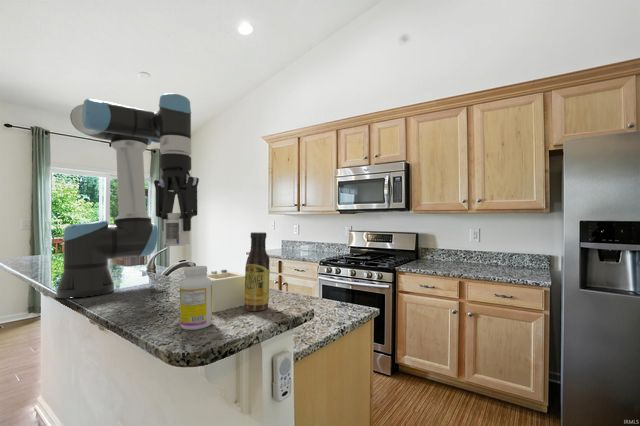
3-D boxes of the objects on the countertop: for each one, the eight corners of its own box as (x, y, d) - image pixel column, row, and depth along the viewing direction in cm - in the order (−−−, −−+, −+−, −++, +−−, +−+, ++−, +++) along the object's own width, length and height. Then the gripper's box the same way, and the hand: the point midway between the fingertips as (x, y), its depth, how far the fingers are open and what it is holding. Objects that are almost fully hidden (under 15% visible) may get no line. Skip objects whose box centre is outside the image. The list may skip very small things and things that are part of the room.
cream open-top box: (194, 303, 89) (194, 272, 90) (227, 297, 96) (227, 268, 96) (212, 312, 81) (212, 278, 81) (248, 305, 87) (248, 273, 87)
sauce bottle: (239, 311, 81) (239, 232, 82) (252, 305, 87) (251, 231, 88) (263, 313, 79) (262, 232, 80) (274, 306, 85) (273, 231, 86)
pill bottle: (181, 245, 81) (181, 212, 82) (162, 246, 81) (162, 213, 82) (189, 244, 86) (189, 213, 86) (171, 244, 86) (171, 213, 86)
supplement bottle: (195, 319, 75) (195, 264, 75) (218, 322, 73) (218, 265, 73) (172, 329, 69) (172, 268, 69) (197, 332, 66) (197, 270, 67)
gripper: (139, 156, 85) (139, 244, 84) (190, 148, 77) (191, 245, 77) (163, 160, 91) (164, 242, 91) (212, 154, 84) (213, 243, 84)
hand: (176, 243), depth 84 cm, fingers closed on pill bottle, 5 cm apart
